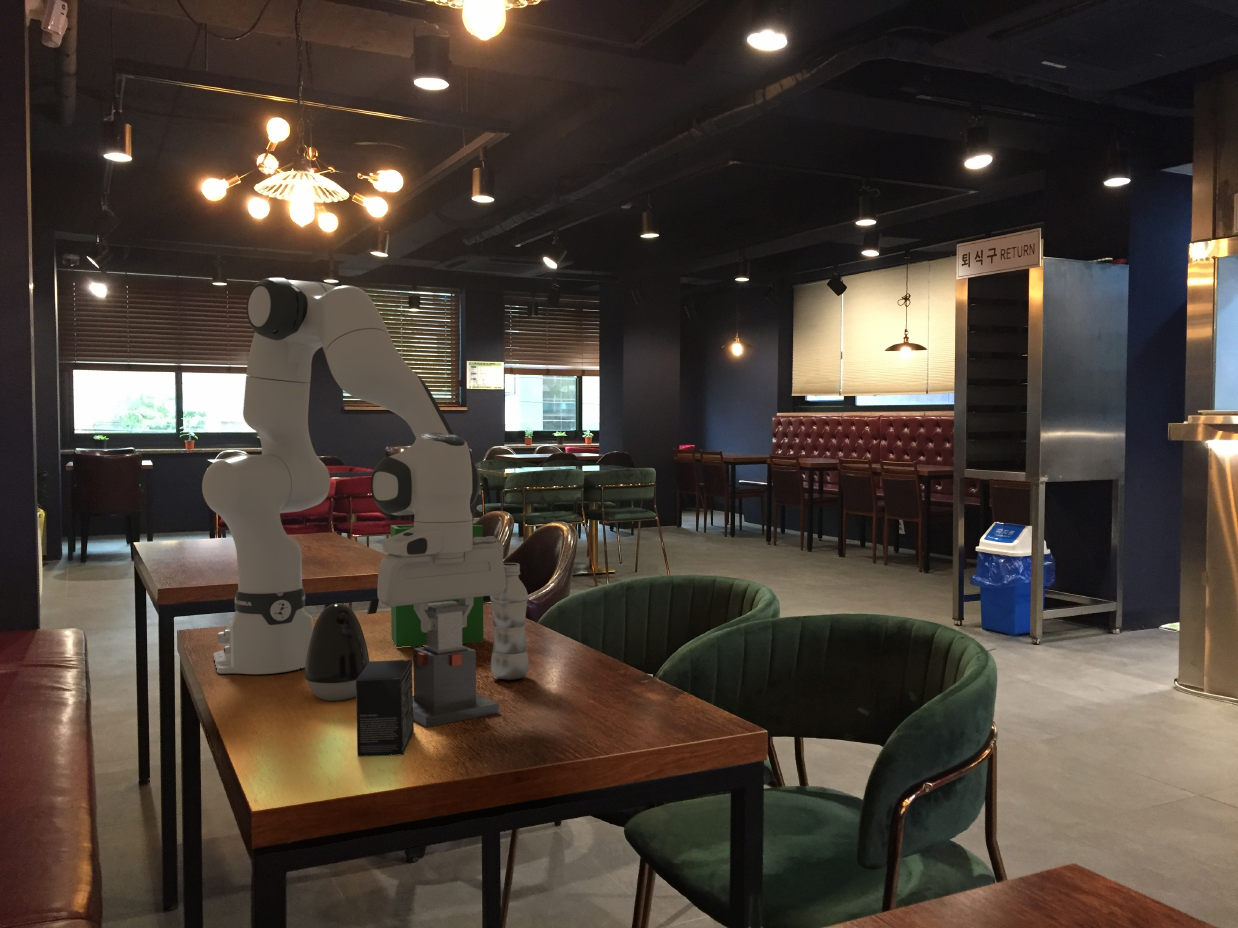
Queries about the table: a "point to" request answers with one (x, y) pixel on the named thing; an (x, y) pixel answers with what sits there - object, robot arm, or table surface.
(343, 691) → the pump dispenser
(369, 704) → the small box
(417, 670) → the stand
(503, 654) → the plastic bottle
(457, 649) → the column
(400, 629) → the hardback book
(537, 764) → the table surface
